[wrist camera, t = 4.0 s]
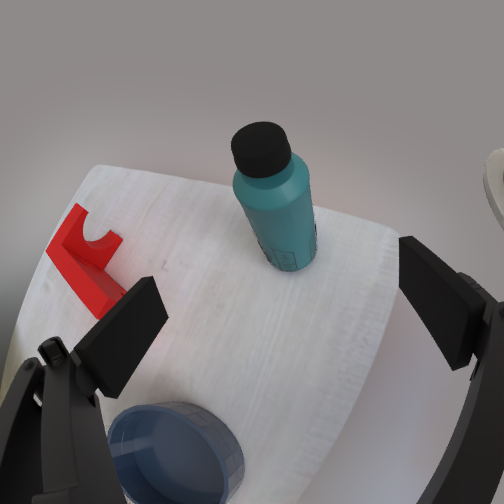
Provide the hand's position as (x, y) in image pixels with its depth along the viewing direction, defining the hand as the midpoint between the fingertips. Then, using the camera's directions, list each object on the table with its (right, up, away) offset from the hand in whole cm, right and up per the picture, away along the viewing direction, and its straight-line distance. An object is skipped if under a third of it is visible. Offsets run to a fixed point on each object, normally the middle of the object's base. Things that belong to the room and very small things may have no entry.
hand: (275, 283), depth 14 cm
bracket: (-21, -3, +26) cm, 34 cm away
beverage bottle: (+4, +1, +22) cm, 22 cm away
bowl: (-10, -25, +13) cm, 30 cm away
